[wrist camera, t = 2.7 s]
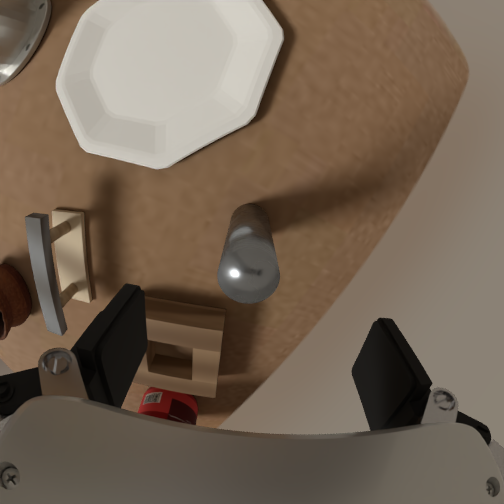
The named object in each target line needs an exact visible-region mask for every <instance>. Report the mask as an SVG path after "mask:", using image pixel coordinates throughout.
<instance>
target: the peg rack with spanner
mask: <svg viewBox="0 0 504 504" xmlns="http://www.w3.org/2000/svg"><path fill="white" fill-rule="evenodd" d="M25 221H26V231H27V239H28V246H29V253H30V259H31V264H32V270H33V275H34V280H35V284H36V289H37V293H38V297H39V301H40V305H41V309H42V312H43V316H44V319H45V323H46V326H47V329H48V331H50V332H52V333H55V334H58V335H61V336H62V335H63V334H64V333H65V332H66V330H67V325H66V322H65V318H64V314H63V309H62V308H63V307H64V306H65V304H66V303H67V302H68V301H69V300H70V299H71V298H73V299H76V300H80V301H84V302H88V303H90V302H91V301H92V295H91V288H90V281H89V273H88V264H87V253H86V241H85V223H84V212H76V211H67V210H58V209H54V210H52V222H53V228H52V229H50V230H49V217H48V214H39V213H32V214H30V215H28V216H26V217H25ZM53 242H54V244H55V252H56V259H57V266H58V273H59V278H60V284H61V289H62V292H61V293H60V294H59V291H58V286H57V281H56V275H55V269H54V263H53V256H52V248H51V243H53Z"/></svg>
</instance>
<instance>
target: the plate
mask: <svg viewBox="0 0 504 504" xmlns="http://www.w3.org/2000/svg"><path fill="white" fill-rule="evenodd" d="M283 41H284V33H283V29H282V27H281V26H280V24H279V23H278V21H277V20H276V18H275V17H274V16H273V14H272V13H271V11H270V10H269V8H268V7H267V6H266V4H265V3H264V2H263V0H99V1H98V2H96V3H95V4H94V5H92V6H91V7H90V8H88V9H87V10H86V12H85V13H84V14H83V15H82V16H81V18H80V20H79V22H78V25H77V27H76V29H75V31H74V34H73V36H72V38H71V41H70V43H69V46H68V48H67V51H66V53H65V56H64V59H63V61H62V64H61V67H60V70H59V73H58V76H57V79H56V91H57V94H58V96H59V99H60V101H61V104H62V106H63V109H64V111H65V113H66V116H67V118H68V120H69V123H70V125H71V127H72V129H73V132H74V134H75V136H76V138H77V140H78V142H79V144H80V147H81V148H83V149H84V150H85V151H86V152H88V153H92V154H97V155H101V156H105V157H110V158H114V159H118V160H122V161H126V162H130V163H134V164H138V165H142V166H146V167H150V168H154V169H162V168H168V167H170V166H171V165H173V164H175V163H176V162H178V161H180V160H181V159H183V158H185V157H187V156H188V155H190V154H192V153H194V152H195V151H197V150H199V149H201V148H202V147H204V146H206V145H208V144H210V143H212V142H214V141H215V140H217V139H219V138H221V137H223V136H225V135H227V134H229V133H231V132H233V131H235V130H237V129H239V128H241V127H243V126H245V125H247V124H248V123H249V122H250V121H251V120H252V119H253V118H254V117H255V116H256V113H257V110H258V108H259V105H260V102H261V99H262V96H263V94H264V91H265V88H266V85H267V83H268V80H269V77H270V75H271V72H272V69H273V67H274V64H275V62H276V59H277V56H278V54H279V51H280V49H281V46H282V43H283Z"/></svg>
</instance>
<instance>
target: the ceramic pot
mask: <svg viewBox="0 0 504 504" xmlns="http://www.w3.org/2000/svg"><path fill="white" fill-rule="evenodd" d="M31 308H32V303H31V297H30V293H29V290H28V288H27V285H26V283H25V281H24V279H23V278H22V276H21V275H20V274H19V272H18V271H17V270H16V269H15V268H14V267H12V266H11V265H8V264H1V265H0V340H3V339H5V338H6V337H7V335H8V332H9V331H10V329H11V327H16V326H19V325H21V324H22V323H24V322H25V321H26V319H27V318H28V316H29V314H30V311H31Z"/></svg>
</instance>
